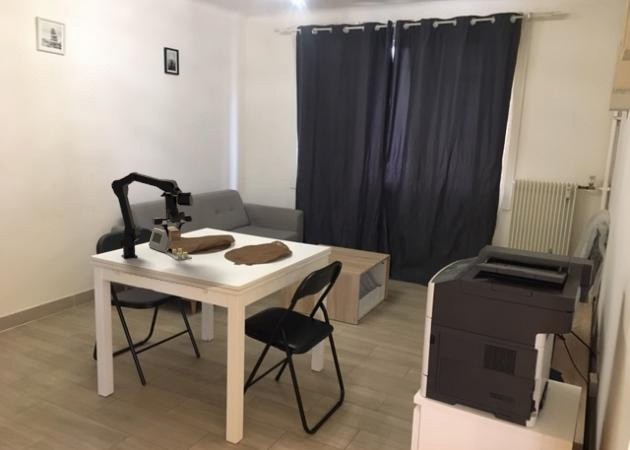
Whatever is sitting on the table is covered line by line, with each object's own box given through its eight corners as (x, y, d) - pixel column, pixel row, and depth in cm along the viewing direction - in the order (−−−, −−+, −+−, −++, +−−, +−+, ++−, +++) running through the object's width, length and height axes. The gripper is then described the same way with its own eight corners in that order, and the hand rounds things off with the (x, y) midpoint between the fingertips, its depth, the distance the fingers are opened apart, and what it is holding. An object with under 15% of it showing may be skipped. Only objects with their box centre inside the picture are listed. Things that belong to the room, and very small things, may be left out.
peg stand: (168, 254, 261) (168, 249, 261) (183, 253, 266) (183, 247, 265) (176, 260, 251) (176, 254, 251) (191, 258, 256) (191, 252, 255)
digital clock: (147, 247, 276) (146, 228, 274) (164, 245, 281) (163, 226, 279) (157, 253, 263) (156, 234, 261) (174, 251, 268) (173, 232, 266)
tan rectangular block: (164, 236, 257) (164, 227, 256) (173, 235, 259) (173, 226, 258) (171, 241, 247) (171, 231, 246) (180, 240, 249) (180, 230, 248)
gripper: (156, 209, 238) (158, 241, 241) (195, 206, 248) (196, 237, 251) (150, 206, 247) (152, 237, 251) (187, 203, 257) (188, 233, 260)
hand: (172, 236), depth 253 cm, fingers closed on tan rectangular block, 4 cm apart
